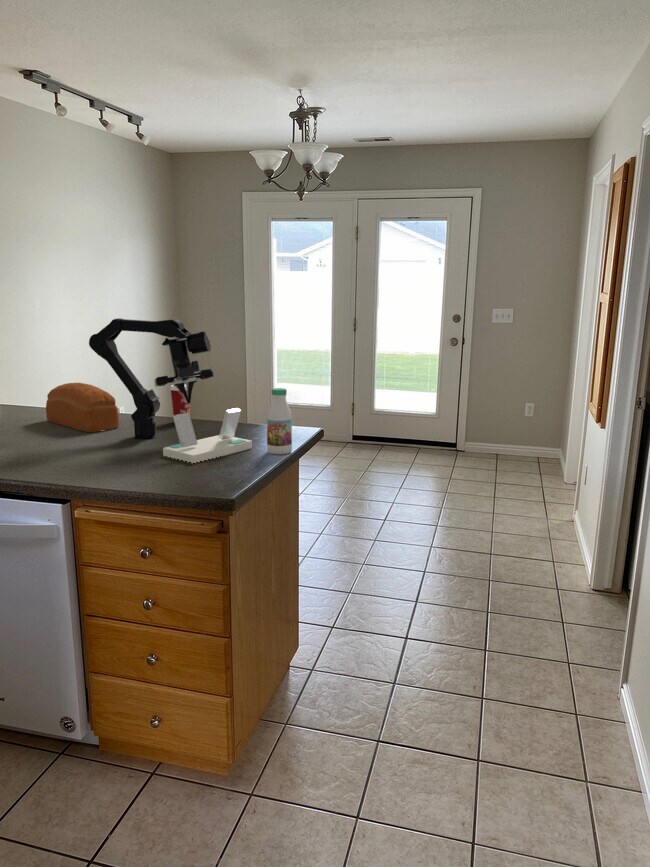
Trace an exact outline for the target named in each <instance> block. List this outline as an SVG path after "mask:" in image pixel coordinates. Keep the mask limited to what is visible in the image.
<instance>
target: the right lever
mask: <svg viewBox="0 0 650 867" xmlns="http://www.w3.org/2000/svg"><path fill="white" fill-rule="evenodd" d="M241 412H242V410H241V409H240V408H238V407H235V408H231V409H227V410H225V413H224V417H223V419H222V420H223V421H222V423H221V424H222V425H221V429H220V431H219V434H218V435H219V438H220V439H221V440H225V439H229V438H233V437H235V434H236V430H237V427H238V423H239V419H240V416H241Z"/></svg>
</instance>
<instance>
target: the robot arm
mask: <svg viewBox="0 0 650 867" xmlns="http://www.w3.org/2000/svg"><path fill="white" fill-rule="evenodd" d="M122 332H135V333H153V334H157V335H160V336H164V337H166V338H165V339H164V341H163V342H162V343H161V345H162V346H164V347H168V349H169V353H170V358H171V365H172V369H173V374H174V376H168V375H164V376H157V377H156V378H155V379H154V385H155V388H156V387H164V386H166V385H168V384H170V383H173V384H172V385H173V387H175V386H176V387H177V388H178V389H179V391H180V392H181V393H182V395H183V397H184V398H185V400H186V402H187V404H189V403H190V404H191V400H192V393H193V388H194V384H196V383H198V381H197V379H201V380H207V379H211V378H214V377H215V376H214V372H213V370H212V368H208V369H201V370H200V365H199V361H198V360H193V361H190V356H189V353H191V354H192V355H196V354H197V355H198V354H202V353H203V354H204V353H208V352H210V351H211V348H212V347H211V341H210V339H209V336H208V335H207V333H206V331H204V330H203V331H199V332H195V333H191V331H189V330H188V328H186V327H185V325H184V322H182V321H181V319H179V318H170V319H163V320H157V321H156V320H141V319H125V318H120V317H119V318H114V319H112V320H111V321H110V322H109V323H108V324H107V325H105V327H103V328H102V329H101V330H99V332H96V333H93V334H92V335H90V337H89V340H88V346H89V347H90V349H91V350H92V351H94V353H96V355H98V356H99V357H101V359H104V360H105V362H107V363H108V365H109V366H110V368H111V369H112V371H114V373H115V374H116V376H117V378H119V380H120V381H121V383H122V384H123V385H124V386H125V388H126V390H128V392H129V393H130V394H131V396H132V400H133V403H134V406H135V408H136V409H135V411H134V412H133V413H132V414H131V415H130V417H131V419H132V422H133V426H134V430H133V431H134V436H133V439H134V440H135V439H154V438H155V436H156V435H157V422H156V421H155V418H154V417H156V414H157V412H159V410H160V407H161V402H160V398H159V397H158V396H157V395H156V393H155V391H154V389H152V388H151V389H149V390H148V389H146V388H145V387H144V386H143V385H142V383H141V381H140V380H138V378H137V377H136V376H135V374H134V373H133V371H132V370H131V368H129V366H128V364H127V363H126V362H125V360H124V359H123V358H122V357H121V355H120V354H119V350H118V347H117V344H116V342H115V340H116V339H118V337H119V336H120V334H121V333H122ZM170 338H173V339H170ZM195 372H196V373H195ZM184 381H186V383H185V382H184ZM184 384H186V388H187V393H186V390H185V385H184Z"/></svg>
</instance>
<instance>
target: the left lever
mask: <svg viewBox="0 0 650 867" xmlns="http://www.w3.org/2000/svg"><path fill="white" fill-rule="evenodd" d="M190 415H191V414H189V413H183V414H178V415H173V416H172V418H173V422H174V426H175V428H176V433H177V438H178V440H179V444H180V445H181V448H184V447H189V446H193V445H197V440H198V439H197V438H196V437H197V436H196V434H195V430H194V426H193V422H192V418H191V416H190Z"/></svg>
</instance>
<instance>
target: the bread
mask: <svg viewBox="0 0 650 867" xmlns="http://www.w3.org/2000/svg"><path fill="white" fill-rule="evenodd" d="M45 404H46V405H45V414H46V420H47V422H50V423H53V424H57V425H59V424H60V426H63V427H66V426H67V428H70V427H71V428H72V429H73V428H74V429H73V430H78V431H80V430H81V431H80V432H84V431H85V433H97V432H96V431H101V430H107V429H111V430H113V429H112V428H115V429H118V428H119V426H120V425H119V424H120V422H119V419H120V418H119V408H118V407H117V406H118V405H116V399H115V397H114V396H113V395H111V394H110V393H109V392H107V391H106V390H103V389H102V388H100V387H98V386H95V385H92V384H89V383H84V382H68V383H63V384H60V385H58V386H56V387H54V388H52V389H51V390H50V391H49V392H48V393H47V400H46V403H45ZM117 427H118V428H117ZM71 428H70V429H71ZM107 431H108V430H107ZM101 432H102V431H101Z"/></svg>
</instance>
